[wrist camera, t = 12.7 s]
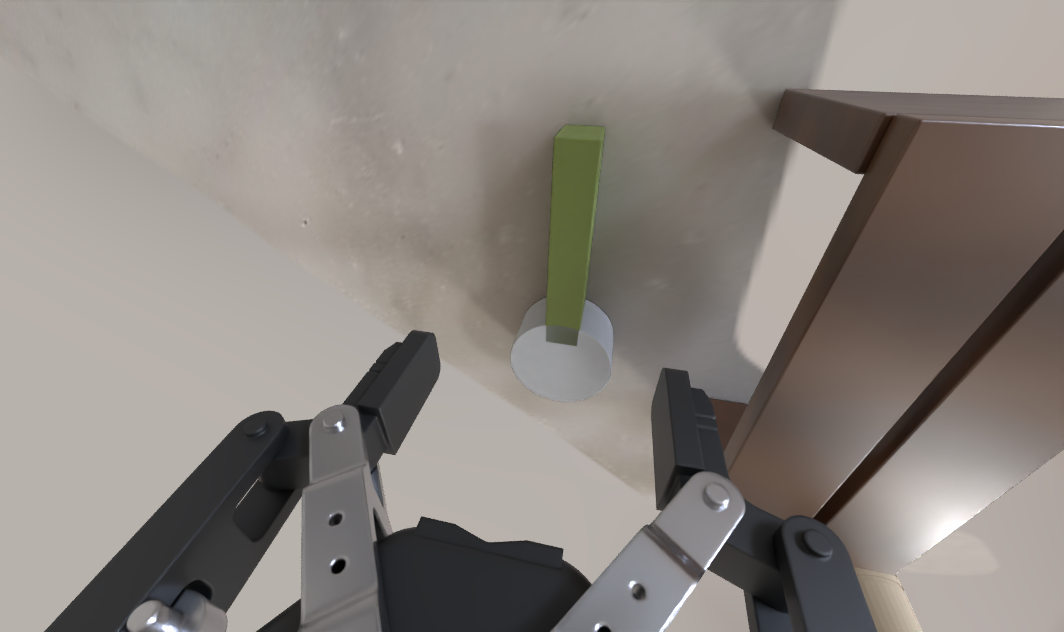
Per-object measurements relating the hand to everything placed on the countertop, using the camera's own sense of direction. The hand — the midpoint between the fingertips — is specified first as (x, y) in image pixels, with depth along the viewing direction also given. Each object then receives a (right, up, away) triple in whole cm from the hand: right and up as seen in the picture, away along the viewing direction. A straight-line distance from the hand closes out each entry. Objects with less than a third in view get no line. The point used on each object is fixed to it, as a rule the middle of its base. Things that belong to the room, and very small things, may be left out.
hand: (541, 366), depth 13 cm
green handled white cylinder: (+2, +4, +7) cm, 9 cm away
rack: (+14, +2, +6) cm, 15 cm away
